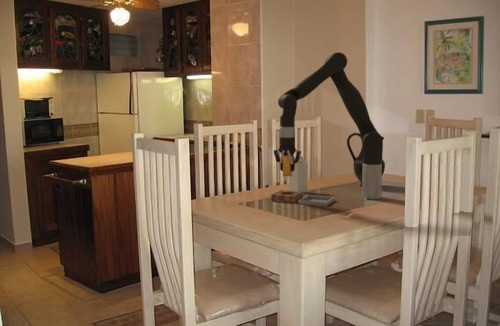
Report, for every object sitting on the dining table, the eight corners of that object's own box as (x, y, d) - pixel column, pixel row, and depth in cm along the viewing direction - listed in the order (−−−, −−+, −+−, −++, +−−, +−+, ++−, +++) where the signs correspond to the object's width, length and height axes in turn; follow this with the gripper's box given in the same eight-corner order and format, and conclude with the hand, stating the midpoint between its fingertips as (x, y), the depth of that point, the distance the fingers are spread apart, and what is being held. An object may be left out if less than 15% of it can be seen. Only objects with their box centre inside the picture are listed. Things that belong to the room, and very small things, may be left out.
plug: (293, 175, 247) (293, 155, 245) (289, 176, 243) (289, 156, 241) (284, 174, 249) (284, 154, 247) (281, 176, 245) (281, 155, 243)
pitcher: (385, 189, 273) (386, 134, 269) (346, 188, 277) (346, 134, 273) (383, 183, 290) (384, 131, 286) (346, 182, 294) (347, 131, 290)
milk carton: (288, 192, 270) (288, 156, 267) (298, 190, 274) (298, 155, 271) (297, 194, 264) (297, 158, 262) (307, 192, 268) (307, 156, 266)
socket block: (303, 199, 250) (303, 191, 250) (294, 204, 239) (294, 196, 239) (280, 197, 255) (280, 190, 255) (271, 202, 245) (271, 194, 244)
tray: (334, 202, 244) (334, 196, 244) (326, 207, 232) (326, 202, 232) (307, 199, 250) (307, 194, 249) (298, 205, 238) (298, 200, 237)
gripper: (304, 135, 243) (303, 170, 246) (276, 135, 249) (276, 169, 252) (298, 137, 236) (298, 173, 239) (270, 136, 243) (270, 171, 245)
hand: (287, 171), depth 245 cm, fingers closed on plug, 4 cm apart
